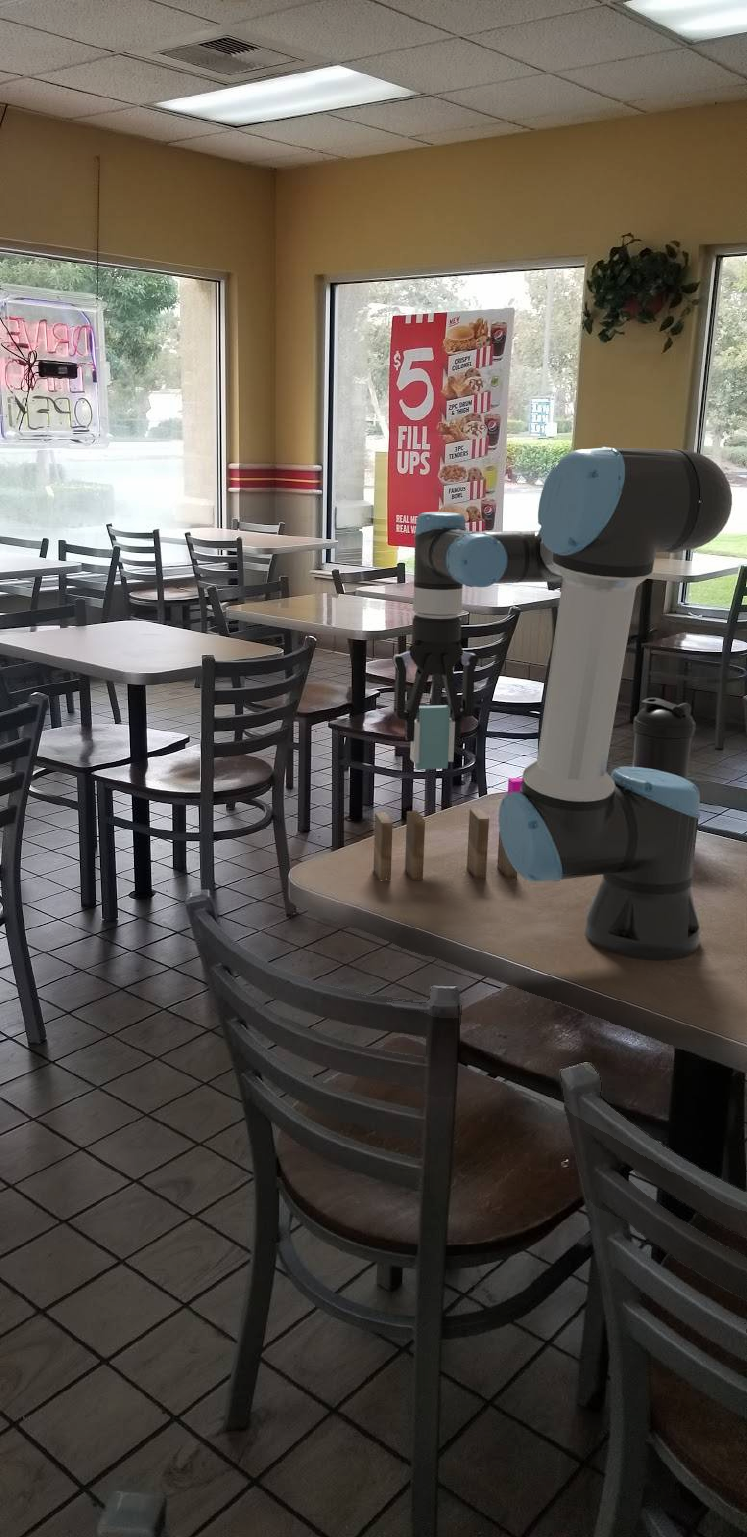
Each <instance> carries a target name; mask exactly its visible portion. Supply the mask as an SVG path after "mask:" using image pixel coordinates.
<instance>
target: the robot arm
mask: <svg viewBox="0 0 747 1537" xmlns="http://www.w3.org/2000/svg"><path fill="white" fill-rule="evenodd" d="M732 507H733V494H732V488H731V485H730V483H729V480H728V478H727V476H726V475H725V473H724V471H723V470H722V469H721V467H720V466H719V465H718V464H717V463H716V462H714V461H713V460H712V459H710V457H709V458H708V457H707V456H705V455H704V454H702V453H699V452H696V451H691V450H687V449H676V448H675V449H673V448H672V449H655V448H654V449H652V448H629V447H627V448H626V447H625V448H624V447H608V446H602V447H598V448H597V447H596V448H585V449H584V448H583V449H582V448H581V449H576V450H573V451H570V452H568V453H567V454H565V455H564V456H563V457H561V458H560V459H559V461H558V462H557V463H556V464H555V465H554V466H553V467H552V468H551V470H550V472H549V473H548V475H547V478H546V480H545V482H544V483H543V487H542V489H541V493H540V497H539V502H538V511H537V524H538V525H539V526H540V528H539V530H525V531H523V530H522V531H519V530H510V531H507V530H503V531H502V530H501V531H497V530H496V531H495V530H494V531H488V530H486V531H481V530H479V531H473V530H471V531H470V530H467V528H466V518H465V516H464V515H463V513H460V512H451V511H450V512H447V511H429V512H428V511H427V512H421V513H420V514H419V515H417V517H416V521H415V533H414V536H413V539H414V563H413V564H414V566H413V567H414V568H413V570H414V572H413V574H414V575H413V601H412V602H413V604H412V611H413V612H414V613H415V614H414V615H413V617H412V627H411V628H412V629H411V630H412V631H411V644H410V646H409V648H408V651H404V652H402V653H400V654H399V653H394V654H393V655H392V657H391V659H392V662H393V666H394V669H395V671H394V673H395V675H394V697H393V699H394V700H393V714H394V715H395V716H396V717H397V718H398V719H400V720H401V719H402V720H403V721H404V738H405V740H406V741H407V742H410V746H409V747H410V749H409V750H410V754H409V759H410V760H411V762H412V763H414V764H415V763H419V740H420V722H418V721H417V713H418V709H419V706H421V702H422V699H423V695H424V691H425V688H426V685H427V682H428V681H429V677H430V676H433V675H440V676H441V678H442V682H443V686H444V690H445V696H446V700H447V705H448V706H449V707H450V721H449V745H448V763H454V755H455V754H454V752H455V741H459V740H460V738H461V728H462V727H461V724H462V722H463V721H464V719H466V718H468V717H469V718H470V717H472V716H473V715H474V701H475V700H474V699H475V698H474V696H475V694H474V693H475V670H476V667H477V665H478V662H479V656H478V655H476V654H475V653H474V652H467V651H464V649H463V647H462V645H461V638H462V637H461V636H462V635H461V632H462V631H461V630H462V618H461V617H460V615H459V614H461V613H462V612H463V610H462V609H463V585H464V586H466V587H469V588H474V587H475V588H487V587H490V586H491V585H492V586H493V585H495V584H518V583H555V584H560V583H561V589H560V596H559V602H558V609H557V617H556V625H555V632H554V636H553V637H554V638H553V646H552V653H551V658H550V667H549V674H548V681H547V686H546V694H545V701H544V708H543V716H542V721H541V722H542V723H541V731H540V737H539V743H538V751H537V758H536V761H534V762H533V763H531V764H529V765H528V766H527V767H525V769H524V770H523V772H522V777H521V778H522V784H521V790H520V792H511V793H510V794H508V793H507V794H506V795H505V796H504V798H502V800H501V802H500V804H499V808H498V830H500V836H501V840H502V844H503V847H504V849H505V852H506V855H507V857H508V859H509V861H510V863H511V865H512V866H513V868H514V869H515V870H516V872H517V875H519V876H520V877H521V878H523V879H525V880H527V881H529V882H532V883H538V882H539V883H540V882H553V883H557V882H560V881H563V880H570V879H576V878H585V877H592V876H599V875H602V880H601V882H600V885H599V887H598V889H597V891H596V893H595V896H594V898H593V900H592V902H591V905H590V907H589V909H588V912H587V914H586V917H585V928H584V929H585V930H584V933H585V936H586V938H587V939H588V941H589V942H591V943H592V944H593V945H594V946H596V947H598V948H600V949H602V950H604V951H606V952H608V953H611V954H614V955H618V956H621V957H626V958H630V959H636V960H637V959H638V960H644V961H671V960H678V959H682V958H684V957H687V956H690V955H692V954H693V953H695V952H696V951H697V949H698V948H699V943H700V933H701V932H700V931H701V930H700V924H699V920H698V919H699V918H698V915H697V911H696V906H695V902H694V901H695V900H694V898H693V892H692V879H693V872H694V861H695V851H696V841H697V834H698V828H699V827H698V825H699V819H701V814H700V804H701V803H700V800H701V799H700V798H701V794H700V791H699V788H698V787H697V786H696V785H695V783H693V782H691V781H690V780H689V779H687V778H686V779H685V778H682V777H680V776H677V775H674V774H671V773H667V772H663V771H659V770H654V769H648V768H641V767H633V766H618V767H616V768H614V769H613V770H612V771H611V775H609V773H608V772H607V771H606V770H607V765H608V758H609V751H610V747H611V741H612V733H613V728H614V723H615V722H614V721H615V716H616V711H617V704H618V698H619V693H620V687H621V681H622V674H623V668H624V663H625V658H626V657H625V655H626V652H627V646H628V645H627V644H628V639H629V632H630V628H631V627H630V625H631V619H632V614H633V609H634V603H635V597H636V590H637V587H638V586H639V585H640V584H641V583H643V582H644V581H646V579H648V578H650V577H651V576H652V574H653V570H654V565H655V564H654V563H655V559H656V553H668V554H675V553H679V552H683V551H689V550H695V549H697V548H700V547H703V546H705V545H707V544H708V543H710V542H711V541H713V540H714V539H716V538H717V536H718V535H719V534H720V533H721V532H722V531H723V529H724V528H725V526H726V524H727V523H728V522H729V521H728V520H729V519H730V515H731V511H732ZM460 659H461V664H462V665H463V666H462V684H461V685H462V686H461V687H462V688H461V704H460V701H459V696H458V692H457V687H456V682H455V674H454V667H455V666H456V664H457V663H458V662H459V661H460ZM410 660H412V662H413V663H414V665H415V666H416V670H415V674H414V681H413V684H412V688H411V691H410V695H409V699H408V702H407V705H406V695H407V694H406V690H407V689H406V688H407V667H408V666H409V665H410V663H409V661H410ZM460 705H461V706H460Z"/></svg>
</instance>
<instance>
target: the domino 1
mask: <svg viewBox="0 0 747 1537" xmlns="http://www.w3.org/2000/svg"><path fill="white" fill-rule="evenodd" d="M393 825H394V824H393V821H392V820H391V818H390V817H389V815H388V813H386V812H385V811H383V812H382V811H380V812H374V838H373V839H374V841H373V844H374V845H373V872H374V871H375V872H374V873H375V875H376V874H377V875H376V877H377V876H378V877H377V878H378V880H379V879H380V880H386V879H387V880H391V881H392V855H393V854H392V853H393V852H392V849H393ZM380 880H379V881H380Z"/></svg>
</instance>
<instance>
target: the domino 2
mask: <svg viewBox="0 0 747 1537" xmlns="http://www.w3.org/2000/svg"><path fill="white" fill-rule="evenodd" d="M405 826H406V830H405V831H406V832H405V859H404V871H405V872H406V873H407V875H408V876H409V877H410V879H411V880H412V881H423V880H424V858H425V857H424V854H425V834H426V831H425V830H426V820H425V819H424V818H423V816H422V815H421V814H420V812H419V811H418V810H410V811H409V810H408V811H406V825H405Z"/></svg>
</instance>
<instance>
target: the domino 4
mask: <svg viewBox="0 0 747 1537" xmlns="http://www.w3.org/2000/svg"><path fill="white" fill-rule="evenodd" d="M468 814H469V815H468V817H469V818H468V837H467V853H466V854H467V856H466V857H467V858H466V868H467V870H468V871H469V872H470V873H471V874H472V876H474V878H475V879H487V865H488V864H487V861H488V848H489V843H488V842H489V830H490V826H489V825H490V818H489V817H488V815H487V814H486V813H485V812H484V811H483V810H482V809H481V808H479V807H477V808H476V807H475V808H469V813H468Z"/></svg>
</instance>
